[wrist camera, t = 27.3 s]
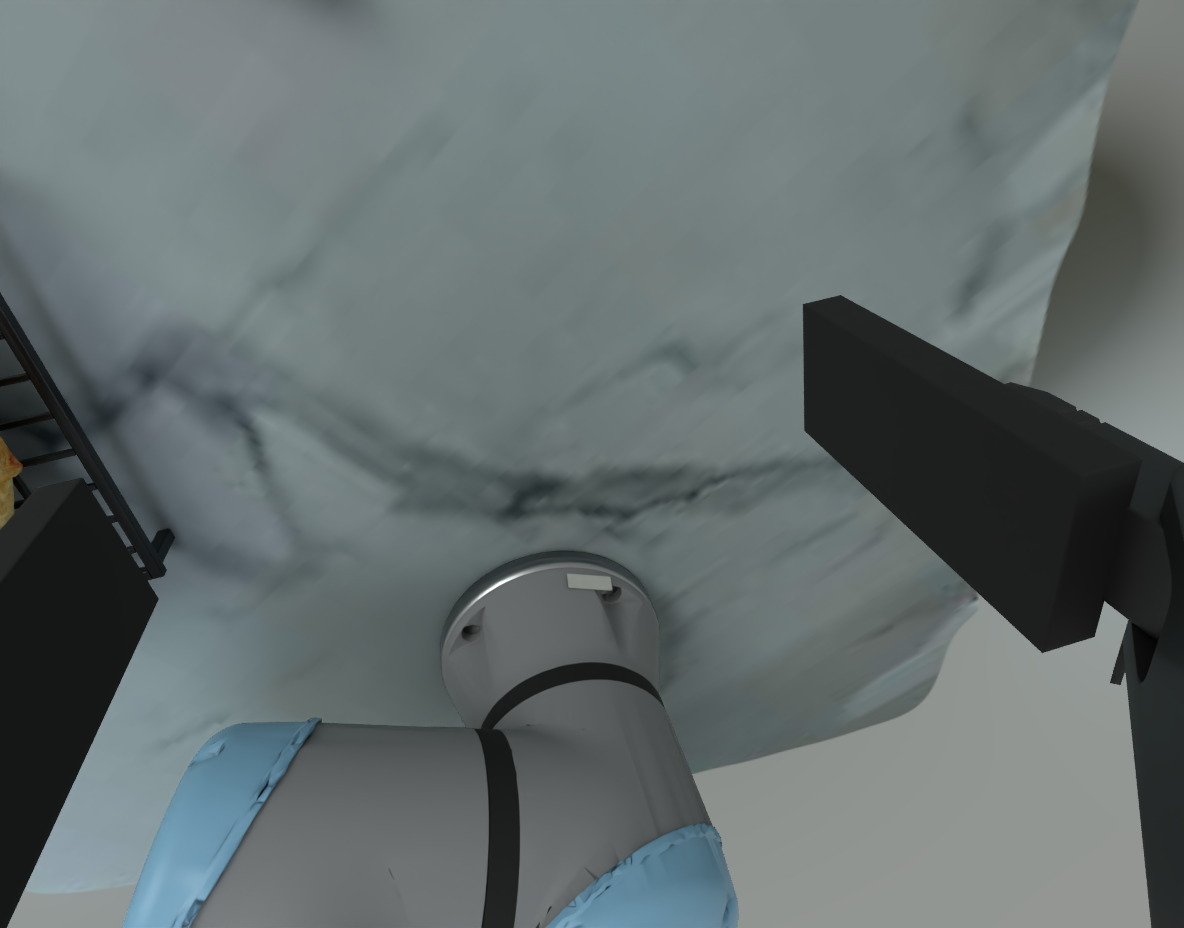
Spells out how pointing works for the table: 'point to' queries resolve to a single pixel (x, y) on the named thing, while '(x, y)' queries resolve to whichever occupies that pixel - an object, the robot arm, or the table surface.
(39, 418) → the cooling rack
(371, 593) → the table surface
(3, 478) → the croissant
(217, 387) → the table surface
